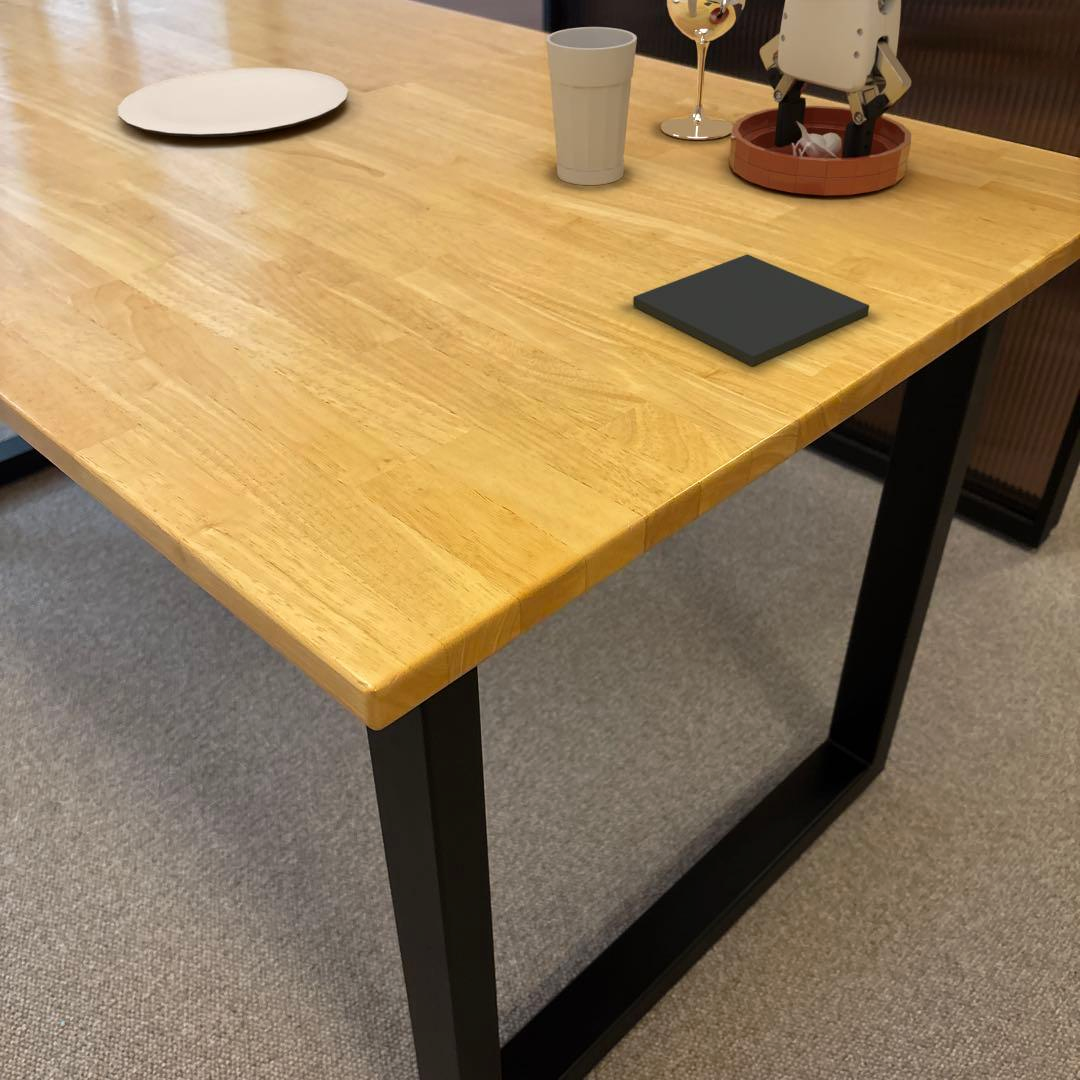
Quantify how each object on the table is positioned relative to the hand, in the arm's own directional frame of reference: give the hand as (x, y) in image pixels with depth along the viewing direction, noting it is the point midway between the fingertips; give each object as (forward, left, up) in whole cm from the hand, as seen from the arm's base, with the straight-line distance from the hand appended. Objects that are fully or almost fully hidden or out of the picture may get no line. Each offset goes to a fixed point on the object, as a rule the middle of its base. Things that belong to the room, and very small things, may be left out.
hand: (820, 152), depth 102 cm
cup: (+13, +17, -2) cm, 22 cm away
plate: (+54, +34, -2) cm, 64 cm away
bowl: (0, 0, -2) cm, 2 cm away
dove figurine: (+1, 0, -1) cm, 1 cm away
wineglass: (+16, 0, -2) cm, 16 cm away
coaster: (-17, +27, -2) cm, 32 cm away
